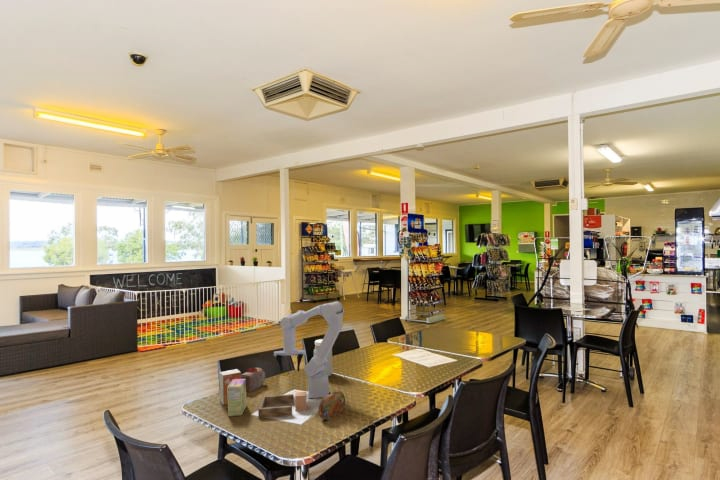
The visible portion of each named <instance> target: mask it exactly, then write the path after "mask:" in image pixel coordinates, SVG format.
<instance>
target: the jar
mask: <svg viewBox="0 0 720 480" xmlns="http://www.w3.org/2000/svg"><path fill="white" fill-rule="evenodd" d="M322 340H323V338H319V339H315V341H314V345H315V346H314V349H313V357H314V356H315V354H316V352H317V350H318V348H319V346H320V344H321V342H322ZM327 359H328V361H327V367H326V370H325V371H324V374H325V375H328V377H331V376H332V374H333V370H334V369H333V366H334V365H333V347H332V348H331V350H330V352H329V354H328V356H327Z"/></svg>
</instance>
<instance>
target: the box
mask: <svg viewBox="0 0 720 480" xmlns="http://www.w3.org/2000/svg"><path fill="white" fill-rule="evenodd" d="M227 398H228V404H227V416H228V417H235V416H242V415H243V414H244V411H245V410H246V408H247V393H246V379H233V380H232V381H231V383H230V384H229V386H228V387H227Z"/></svg>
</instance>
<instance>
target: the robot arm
mask: <svg viewBox="0 0 720 480" xmlns="http://www.w3.org/2000/svg"><path fill="white" fill-rule="evenodd" d="M343 306H344V305H343V304H342V302H340V301H338V300H336V301H333V302H328V303H323V304H319V305H317V306H315V307H312V308H311V309H309V310H306V311H305V310H301V309H300V310H299V309H298V310H296V312H295V313H290V314H289V315H288V316H285V317H282V318H281V319H280V323H279V326H280V328H282V343H283V345H282V346H283V347H282V348H283V350H279V351H278V350H276V351H273V356H274V357H276V358H275V359H276V361H277V363H278V365H279V368H280V373H283V371H284V366H283V365H284V364H283V357H284V356H287V357H288V356H297V357H296V359H297V360H296V361H297V366H296V367H297V372H299V371H300V367H301V366H300V365H301V364H302V363H301V362H302V359H303V357H304V356H306V350H305V349H297V348H296V347H297V345H296V343H297V342H296V330H297V326H300V325H303V324H304V323H307V322H308V320H309V318H312V317H314V316H317V315H319V316H322V317H323V318H324V320H325V321H326V323H327V324H328V328H327V330H326V332H325V334H324V336H323V338H322V339H323V340H322V342H321V344H320V346H319V348H318V350H317V352H316V354H315V356H314V355H313V357H311V359H310V360H309V362H307V363H306V364H305V366H304V373H305V375H306V376H307V379H308V380H307V384H308V385H307V387H308V388H307V390H308V391H307V398H308V399H316V398H319V399H320V398H324V397H326V396H328V395H329V392H330V386H329V376H328V375H325V374H324V371H325V370H326V367H327V361H328V359H327V356H328V354H329V352H330V350H331V348H332V349H333V346H334V344H335V342H336V340H337V339H338V336H339V334H340V333H341V331H342V328H343V325H344V324H343V323H344V322H343V321H344V320H343V319H344V313H345V309H344V307H343Z"/></svg>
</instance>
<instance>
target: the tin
mask: <svg viewBox="0 0 720 480" xmlns="http://www.w3.org/2000/svg"><path fill="white" fill-rule="evenodd" d="M345 403H346V398H345V394H344V393H343V391H337V390H335V391H333V392H331V393H330V394H329V395H328V396H326V397H322V398H321V400H320V402H319V404H318V415H319V417H320V419H322V420H326V421H330V420H332V419H333V418H335V417H336V416H338V415H339V414H340V413H342V412H343V410H344V409H345Z"/></svg>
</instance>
